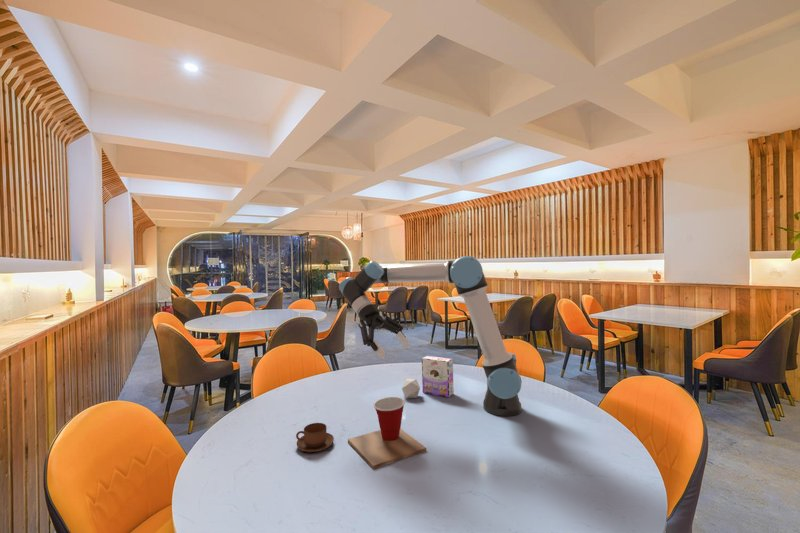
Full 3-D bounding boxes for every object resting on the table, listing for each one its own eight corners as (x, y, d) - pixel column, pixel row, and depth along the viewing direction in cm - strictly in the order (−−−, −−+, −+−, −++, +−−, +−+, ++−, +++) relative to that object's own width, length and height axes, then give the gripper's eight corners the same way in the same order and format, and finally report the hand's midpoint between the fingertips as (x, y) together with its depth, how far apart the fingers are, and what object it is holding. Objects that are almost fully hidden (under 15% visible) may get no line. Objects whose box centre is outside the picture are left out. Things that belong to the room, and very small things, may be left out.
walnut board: (396, 428, 128) (396, 425, 128) (426, 450, 112) (426, 447, 112) (347, 442, 119) (347, 439, 119) (373, 469, 102) (373, 465, 102)
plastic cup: (370, 432, 123) (369, 398, 123) (399, 427, 126) (399, 394, 127) (378, 447, 113) (377, 410, 113) (410, 441, 116) (409, 405, 116)
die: (414, 403, 154) (425, 383, 157) (397, 392, 155) (408, 373, 158) (413, 403, 161) (423, 384, 164) (397, 393, 163) (407, 374, 166)
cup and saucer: (300, 459, 109) (300, 439, 109) (293, 442, 119) (293, 424, 119) (338, 450, 114) (337, 431, 114) (328, 434, 125) (328, 417, 125)
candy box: (454, 394, 163) (453, 358, 163) (448, 398, 158) (448, 361, 158) (427, 388, 170) (427, 354, 170) (421, 392, 165) (421, 357, 165)
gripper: (383, 309, 152) (412, 348, 143) (337, 322, 134) (367, 367, 124) (390, 297, 148) (421, 336, 139) (344, 309, 130) (376, 355, 121)
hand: (396, 351), depth 132 cm, fingers open, 13 cm apart
